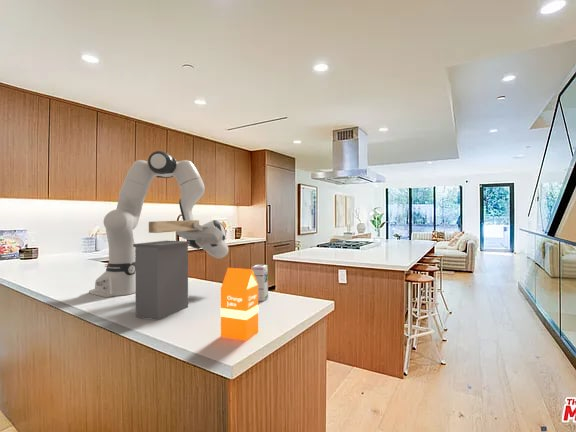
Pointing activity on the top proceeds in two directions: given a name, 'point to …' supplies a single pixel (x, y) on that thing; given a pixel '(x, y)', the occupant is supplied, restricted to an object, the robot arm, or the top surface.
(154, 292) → the pedestal
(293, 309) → the top surface
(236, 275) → the orange juice
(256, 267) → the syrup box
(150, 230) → the maple bar
